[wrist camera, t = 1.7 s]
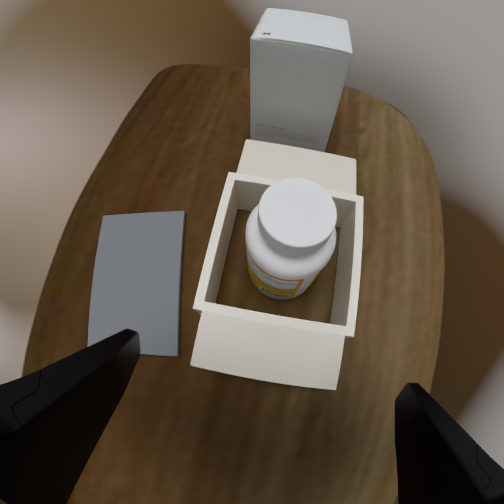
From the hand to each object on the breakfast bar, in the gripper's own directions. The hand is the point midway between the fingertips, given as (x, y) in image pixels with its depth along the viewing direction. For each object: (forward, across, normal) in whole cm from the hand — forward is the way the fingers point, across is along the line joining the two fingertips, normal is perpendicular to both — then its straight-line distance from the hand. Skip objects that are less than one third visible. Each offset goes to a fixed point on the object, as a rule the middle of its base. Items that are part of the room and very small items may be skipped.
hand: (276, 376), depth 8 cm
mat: (+12, +11, +6) cm, 18 cm away
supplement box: (+25, +1, -8) cm, 26 cm away
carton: (+15, 0, +3) cm, 15 cm away
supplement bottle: (+15, 0, +4) cm, 15 cm away
